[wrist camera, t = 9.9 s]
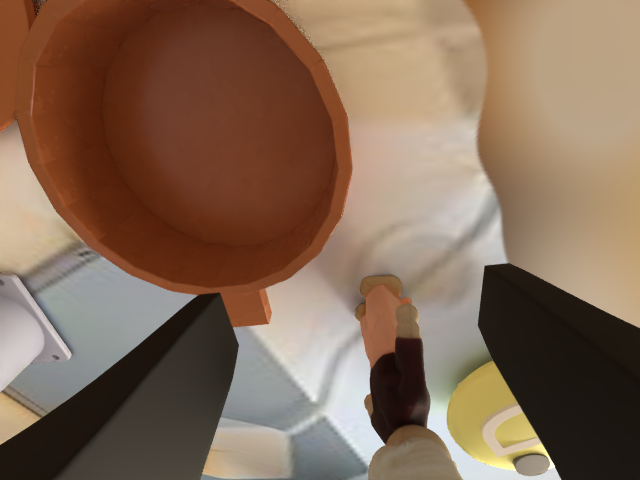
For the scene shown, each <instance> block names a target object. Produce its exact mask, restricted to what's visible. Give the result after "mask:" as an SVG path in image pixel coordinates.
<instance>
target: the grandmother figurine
mask: <svg viewBox="0 0 640 480" xmlns="http://www.w3.org/2000/svg"><path fill="white" fill-rule="evenodd" d="M401 291H402V284H401V281H400V280H399V279H398V278H397V277H395V276H391V275H386V276H372V277H367V278H365V279H363V280H362V282H361V284H360V292H361V294H362V295H363V296H364V297H366V303H364V304H361V305H359V306H358V308H357V309H356V312H355V316H356V318H357V319H358V320H359V321H360V325H361V331H362V336H363V340H364V345H365V350H366V354H367V357H368V359H369V361H370V367H371V372H370V390H371V394H369V395H367V396H366V398H365V400H364V404H365V408H366V409H367V411H368V414H369V417H370V419H371V424H372V426H373V428H374V429H375V431H376V432H377V434H378V435H379V436H380V438H381V439H382V441H383V442H384V443H385V445H386V446H383V447H381V448H380V449H379V450H377V451H376V452H375V454H374V455H373V457H372V460H371V462H370V465H369V471H368V479H369V480H463V479H462V477H461V475H460V474H459V472H458V470H457V465H456V463H455V462H454V461H453V460H452V458H451V455H450V453H449V451H448V449H447V447H446V445H445V444H444V442H443V441H442V440H441V438H440V437H439V436H438V435H437V434H436V433H434V432H433V431H431V430H429V429H427V419H428V413H429V410H430V395H429V392H428V389H427V386H426V381H425V372H424V361H423V342H422V339H421V336H420V329H419V326H418V324H417V321H418V318H419V314H418V310H417V308H416V307H415V306H413V305H412V301H411V299H410V298H409V297H404V298H402V299H399V298H400V294H401Z"/></svg>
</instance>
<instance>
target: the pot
mask: <svg viewBox="0 0 640 480" xmlns="http://www.w3.org/2000/svg"><path fill="white" fill-rule="evenodd" d="M15 110H16V111H15V113H16V116H17V120H18V124H19V128H20V132H21V136H22V140H23V143H24V147H25V151H26V155H27V159H28V162H29V163H30V167H31V169H32V170H33V172H34V174H35V176H36V177H37V179H38V181H39V183H40V184H41V186H42V188H43V190H44V191H45V193H46V195H47V197H48V198H49V200H50V202H51V204H52V205H53V207H54V209H56V212H57V213H58V214H59V215H60V216H61V217H62V218H63V219H64V220H65V221H66V223H67V224H68V225H69V226H70V227H71V228H72V229H73V230H74V231H75V232H76V233H77V234H78V235H79V236H80V238H81V239H82V240H83V241H84V242H85V243H86V244H87V245H88V246H89V247H91V248H92V249H93V250H94V251H96V252H97V253H99V254H100V255H102V256H103V257H105V258H106V259H108V260H109V261H111V262H112V263H113V264H115V265H116V266H118V267H119V268H121V269H122V270H124V271H125V272H127V273H128V274H130V275H132V276H135V277H137V278H140V279H142V280H145V281H147V282H150V283H152V284H155V285H157V286H160V287H162V288H165V289H167V290H171V291H173V292H180V293H187V294H193V295H199V294H209V293H218V292H220V293H221V296H222V299H223V302H224V305H225V307H226V310H227V313H228V316H229V319H230V322H231V324H232V327H242V326H253V325H263V324H269V322H270V318H271V313H272V312H271V308H270V304H269V301H268V297H267V293H266V290H265V288H267V287H269V286H272V285H274V284H277V283H279V282H282V281H284V280H287V279H288V278H290V277H291V276H293V275H294V274H295V273H296V272H297V271H299V270H300V269H301V268H302V267H304V266H305V265H306V264H307V263H308V262H310V261H311V260H312V259H313V258H314V257H316V256H317V255H318V254H319V253H320V252H321V250H322V249H323V247H324V246H325V244H326V242H327V241H328V239H329V237H330V236H331V234H332V233H333V231H334V229H335V228H336V226H337V224H338V223H339V221H340V219H341V218H342V215H343V211H344V206H345V202H346V197H347V193H348V188H349V184H350V179H351V175H352V159H351V149H350V139H349V129H348V118H347V114H346V112H345V109H344V107H343V104H342V102H341V99H340V97H339V95H338V92H337V90H336V88H335V85H334V83H333V80H332V78H331V76H330V73H329V71H328V69H327V66H326V64H325V62H324V60H323V59H322V57H321V56H320V55H319V53H318V52H317V51H316V50H315V49H314V47H313V46H312V45H311V44H310V43H309V41H308V40H307V39H306V38H305V37H304V36H303V34H302V33H301V32H300V31H299V30H298V28H297V27H296V26H295V25H294V24H293V22H292V21H291V20H290V19H289V18H288V17H287V15H286V14H285V13H284V12H283V11H282V9H281V8H279V7H278V6H277V5H276V4H274V3H273V2H271V1H270V0H47V1H46V2H44V4H43V5H42V6H41V8H40V10H39V12H38V14H37V16H36V19H35V21H34V23H33V25H32V27H31V29H30V31H29V33H28V35H27V37H26V39H25V41H24V43H23V45H22V47H21V49H20V51H19V56H18V67H17V83H16V99H15Z"/></svg>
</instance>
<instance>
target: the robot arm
mask: <svg viewBox="0 0 640 480" xmlns="http://www.w3.org/2000/svg"><path fill="white" fill-rule="evenodd" d="M478 327H479V329H480V332H481V334H482V336H483V339H484V341H485V344H486V346H487V348H488V350H489V353H490V355H491V357H492V359H493V361H494V363H495V365H496V367H497V368H498V370H499V372H500V373H501V375H502V377H503V379H504V380H505V382H506V384H507V385H508V387H509V389H510V391H511V392H512V394H513V396H514V397H515V399H516V401H517V402H518V404H519V406H520V407H521V409H522V411H523V413H524V414H525V416H526V418H527V419H528V421H529V423H530V424H531V426H532V428H533V429H534V431H535V433H536V434H537V436H538V438H539V439H540V441H541V443H542V445H543V446H544V448H545V450H546V452H547V453H548V455H549V457H550V459H551V461H552V463H553V464H554V466H555V468H556V470H557V472H558V474H559V476H560V478H561V480H640V328H638V327H636V326H634V325H632V324H630V323H627V322H625V321H623V320H621V319H619V318H617V317H615V316H613V315H611V314H609V313H607V312H605V311H603V310H601V309H599V308H597V307H595V306H593V305H591V304H589V303H587V302H585V301H583V300H581V299H579V298H577V297H575V296H573V295H571V294H569V293H567V292H565V291H564V290H561V289H560V288H557V287H556V286H554V285H552V284H550V283H548V282H546V281H544V280H542V279H540V278H539V277H537V276H535V275H533V274H531V273H529V272H527V271H525V270H523V269H521V268H519V267H516V266H514V265H512V264H510V263H507V264H497V265H487V266H485V268H484V276H483V285H482V293H481V302H480V310H479V319H478ZM238 347H239V344H238V342H237V339H236V336H235V333H234V330H233V327H232V324H231V322H230V319H229V316H228V313H227V310H226V307H225V305H224V302H223V299H222V296H221V293H220V292H218V293H209V294H199V295H198V296H197V297H195V298H194V299H193V300H191V301H190V302H189V303H188V304H186V305H185V306H184V307H183V308H182V309H180V310H179V311H178V312H177V313H176V314H174V315H173V316H172V317H171V318H170V319H169V320H167V321H166V322H165V323H164V324H163V325H162V326H160V327H159V328H158V329H157V330H156V331H155V332H153V333H152V334H151V335H150V336H149V337H147V338H146V339H145V340H144V341H143V342H142V343H140V344H139V345H138V346H137V347H136V348H134V349H133V350H132V351H131V352H129V353H128V354H127V355H126V356H124V357H123V358H122V359H121V360H119V361H118V362H117V363H116V364H114V365H113V366H112V367H111V368H109V369H108V370H107V371H105V372H104V373H103V374H102V375H100V376H99V377H98V378H97V379H95V380H94V381H93V382H91V383H90V384H89V385H87V386H86V387H85V388H83V389H82V390H81V391H79V392H78V393H77V394H75V395H74V396H73V397H71V398H70V399H68V400H67V401H66V402H64V403H63V404H61V405H60V406H58V407H57V408H56V409H54V410H53V411H51V412H50V413H48V414H47V415H45V416H44V417H43V418H41V419H40V420H38V421H37V422H35V423H34V424H32V425H31V426H29V427H28V428H26V429H25V430H23V431H22V432H20V433H18V434H17V435H15V436H14V437H12V438H11V439H9V440H7V441H6V442H4V443H3V444H1V445H0V480H200V479H201V476H202V472H203V469H204V465H205V462H206V459H207V456H208V453H209V450H210V447H211V444H212V441H213V438H214V435H215V432H216V429H217V426H218V423H219V420H220V417H221V414H222V411H223V408H224V405H225V401H226V398H227V395H228V392H229V389H230V386H231V382H232V379H233V374H234V369H235V364H236V359H237V353H238ZM71 356H72V354H71V352H70V350H69V349H68V348H67V346H66V345H65V343H64V342H63V340H62V339H61V338H60V336H59V335H58V333H57V332H56V330H55V329H54V328H53V326H52V325H51V323H50V322H49V320H48V319H47V318H46V316H45V315H44V313H43V312H42V310H41V309H40V308H39V306H38V305H37V303H36V302H35V300H34V299H33V298H32V296H31V295H30V293H29V292H28V290H27V289H26V288H25V286H24V285H23V283H22V282H21V280H20V279H19V278H18V276H17V275H15V274H13V273H10V272H5V273H0V392H1V391H2V390H3V389H4V388H5V387H6V386H7V385H8V384H9V383H10V382H11V381H12V380H13V379H14V378H15V377H16V376H17V375H18V374H20V373H21V372H22V371H23V370H24V369H25V368H26V367H27V366H28V365H29V364H35V363H47V362H58V361H67V360H68V359H69V358H70V357H71Z"/></svg>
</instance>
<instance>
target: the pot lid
mask: <svg viewBox="0 0 640 480" xmlns="http://www.w3.org/2000/svg"><path fill="white" fill-rule="evenodd" d="M35 19H36V17H35V12H34V7H33V1H32V0H0V132H1V131H2V130H4V129H5V128H7V127H8V126H9V125H11V124H12V122H13V121H14V120H15V119H16V118H17V116H16V113H15V111H16V110H15V99H16V83H17V67H18V56H19V51H20V49H21V47H22V45H23V43H24V41H25V39H26V37H27V35H28V33H29V31H30V29H31V27H32V25H33V23H34V21H35Z"/></svg>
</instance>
